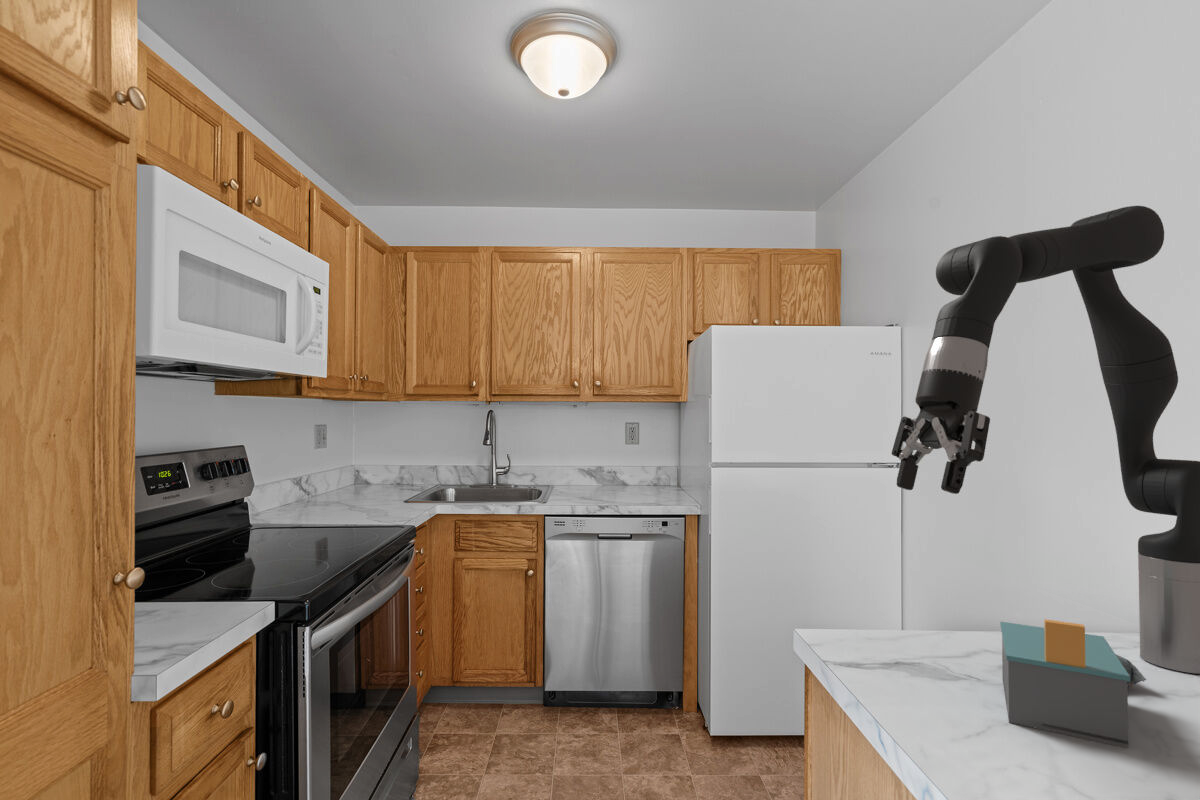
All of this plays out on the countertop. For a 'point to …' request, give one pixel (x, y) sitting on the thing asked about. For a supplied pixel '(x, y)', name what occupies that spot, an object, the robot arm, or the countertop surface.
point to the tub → (1066, 702)
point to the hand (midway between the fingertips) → (925, 490)
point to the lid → (1061, 648)
